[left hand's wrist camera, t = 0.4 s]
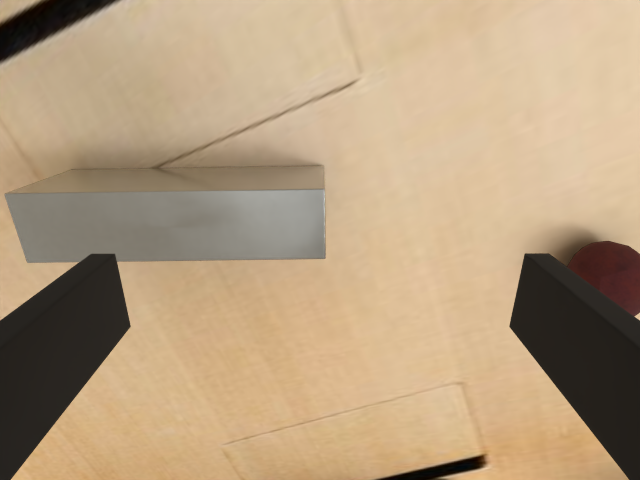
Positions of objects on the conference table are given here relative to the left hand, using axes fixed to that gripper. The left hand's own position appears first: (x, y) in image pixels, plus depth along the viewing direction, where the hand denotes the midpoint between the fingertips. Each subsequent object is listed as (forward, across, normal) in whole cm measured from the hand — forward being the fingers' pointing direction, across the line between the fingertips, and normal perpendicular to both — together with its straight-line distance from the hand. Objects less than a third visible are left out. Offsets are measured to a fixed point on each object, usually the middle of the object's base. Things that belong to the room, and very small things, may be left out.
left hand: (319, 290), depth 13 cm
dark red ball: (+26, +28, -11) cm, 40 cm away
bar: (+26, -12, -4) cm, 29 cm away
